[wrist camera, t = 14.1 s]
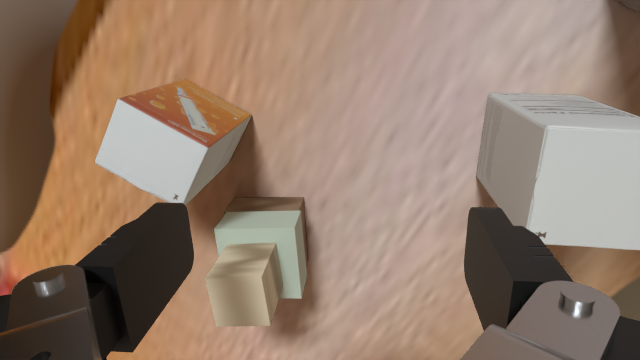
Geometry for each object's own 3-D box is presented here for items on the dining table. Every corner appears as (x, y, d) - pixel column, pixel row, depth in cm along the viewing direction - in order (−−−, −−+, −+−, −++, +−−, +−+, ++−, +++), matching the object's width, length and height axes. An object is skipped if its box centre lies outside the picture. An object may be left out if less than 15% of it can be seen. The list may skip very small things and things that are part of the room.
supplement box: (563, 182, 44) (652, 256, 30) (474, 177, 45) (520, 248, 31) (584, 93, 41) (693, 131, 27) (487, 90, 42) (545, 125, 28)
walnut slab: (304, 196, 48) (298, 210, 45) (308, 258, 51) (303, 276, 47) (235, 196, 49) (224, 210, 46) (243, 257, 52) (233, 275, 48)
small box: (253, 114, 45) (210, 148, 33) (229, 163, 48) (181, 212, 36) (184, 76, 45) (115, 97, 33) (164, 127, 47) (92, 165, 35)
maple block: (276, 242, 42) (261, 276, 36) (283, 286, 43) (270, 325, 38) (226, 244, 42) (205, 278, 37) (235, 287, 44) (216, 326, 38)
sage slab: (300, 210, 45) (294, 227, 41) (307, 276, 47) (301, 298, 44) (226, 212, 46) (214, 229, 42) (237, 276, 48) (225, 298, 45)
